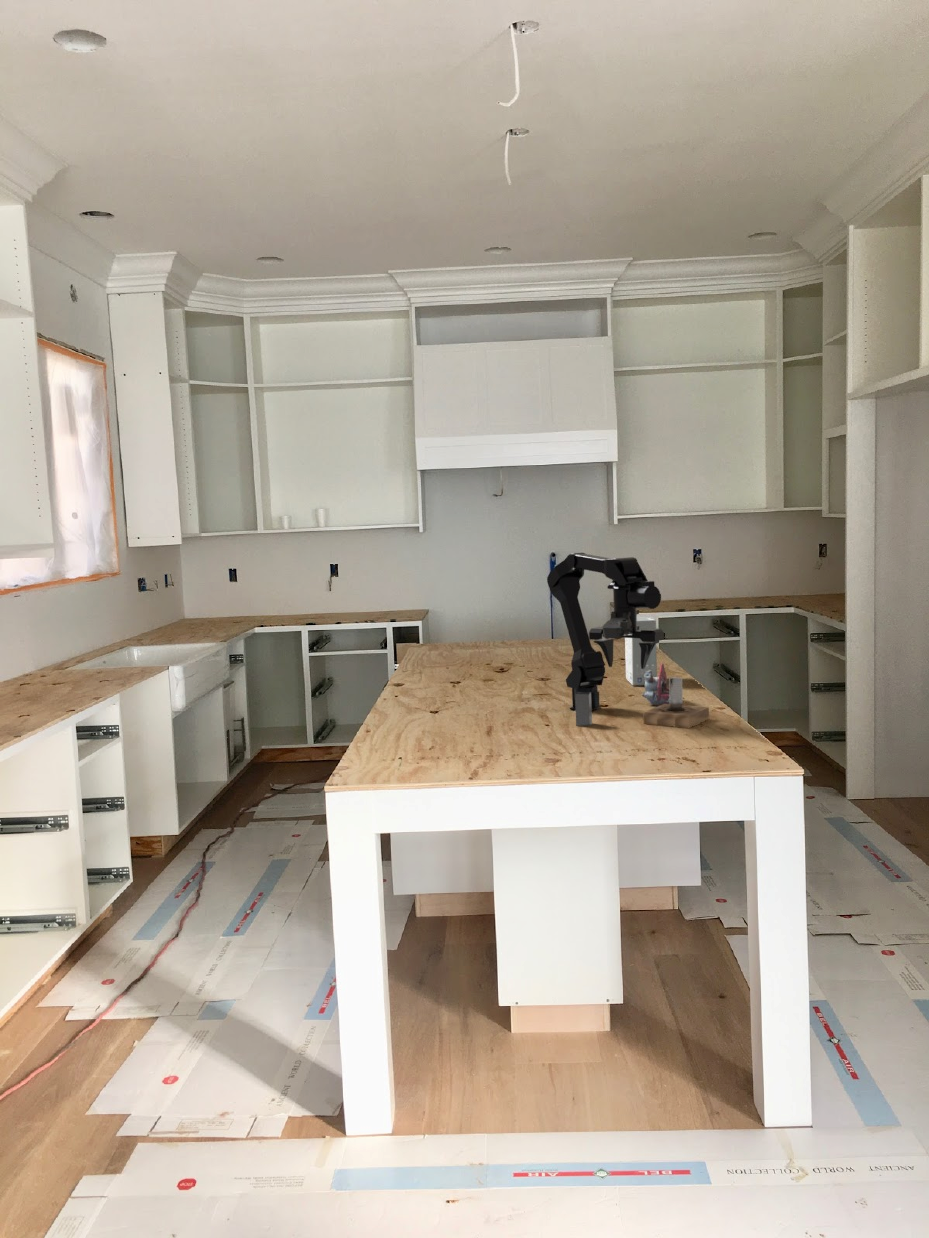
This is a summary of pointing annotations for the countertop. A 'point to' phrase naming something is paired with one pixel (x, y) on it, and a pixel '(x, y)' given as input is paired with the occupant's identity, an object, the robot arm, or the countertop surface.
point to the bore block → (676, 716)
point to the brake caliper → (656, 687)
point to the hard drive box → (639, 655)
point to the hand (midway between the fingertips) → (626, 667)
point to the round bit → (675, 694)
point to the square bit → (583, 708)
